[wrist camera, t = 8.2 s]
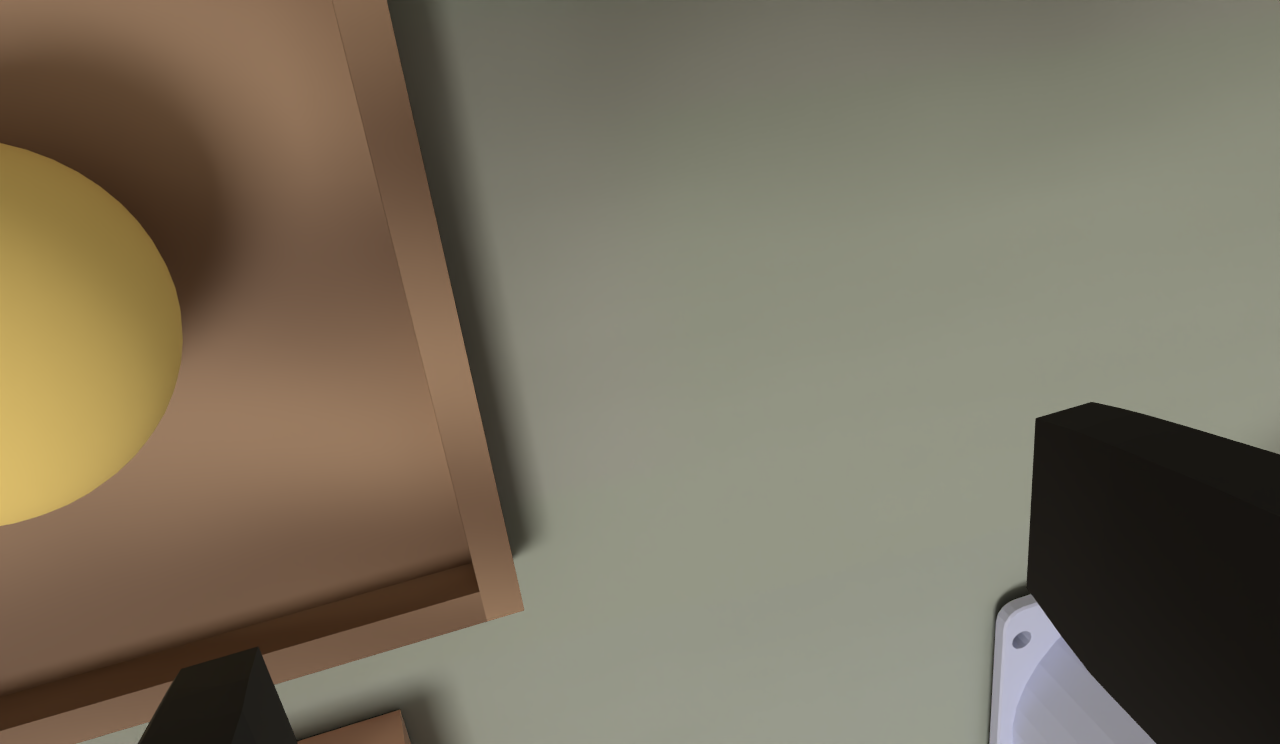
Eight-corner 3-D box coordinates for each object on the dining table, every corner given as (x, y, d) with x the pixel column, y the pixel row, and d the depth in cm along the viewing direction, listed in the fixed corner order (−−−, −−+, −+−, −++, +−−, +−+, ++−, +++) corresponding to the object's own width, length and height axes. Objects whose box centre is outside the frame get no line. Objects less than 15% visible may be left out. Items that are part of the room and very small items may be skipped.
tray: (509, 563, 20) (524, 610, 19) (-167, 757, 18) (-202, 825, 17) (277, -451, 13) (276, -485, 12) (-942, -357, 10) (-1113, -388, 9)
